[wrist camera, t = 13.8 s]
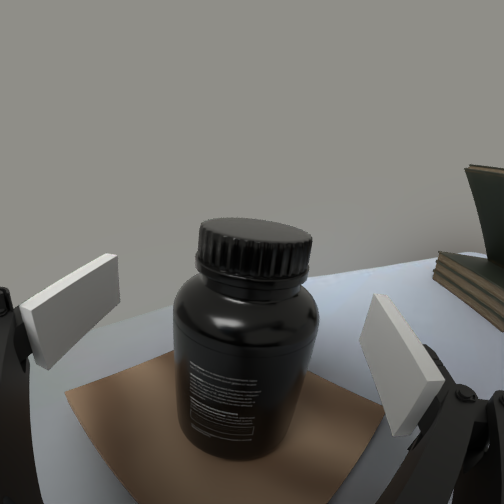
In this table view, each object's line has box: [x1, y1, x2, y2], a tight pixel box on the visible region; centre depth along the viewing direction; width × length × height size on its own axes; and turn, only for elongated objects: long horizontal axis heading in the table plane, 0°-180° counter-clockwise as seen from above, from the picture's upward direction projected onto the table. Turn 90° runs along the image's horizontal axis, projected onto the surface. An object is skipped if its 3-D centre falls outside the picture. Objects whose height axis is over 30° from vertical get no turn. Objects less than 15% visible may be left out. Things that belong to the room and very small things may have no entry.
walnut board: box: [65, 350, 385, 504], centre depth 16 cm, size 16×16×1 cm
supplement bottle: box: [173, 218, 319, 460], centre depth 14 cm, size 7×7×12 cm
